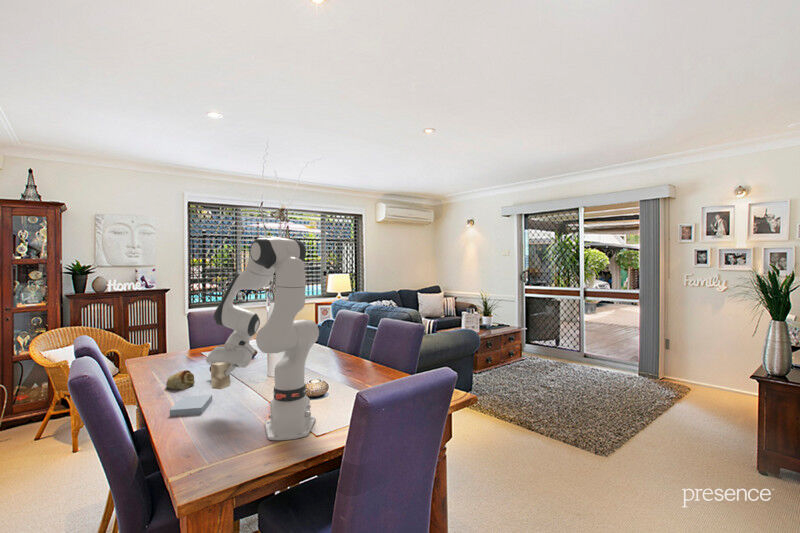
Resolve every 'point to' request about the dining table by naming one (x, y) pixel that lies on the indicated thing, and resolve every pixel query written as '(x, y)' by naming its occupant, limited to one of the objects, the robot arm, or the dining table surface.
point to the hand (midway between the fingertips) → (219, 374)
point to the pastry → (181, 380)
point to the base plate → (191, 405)
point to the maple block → (219, 375)
